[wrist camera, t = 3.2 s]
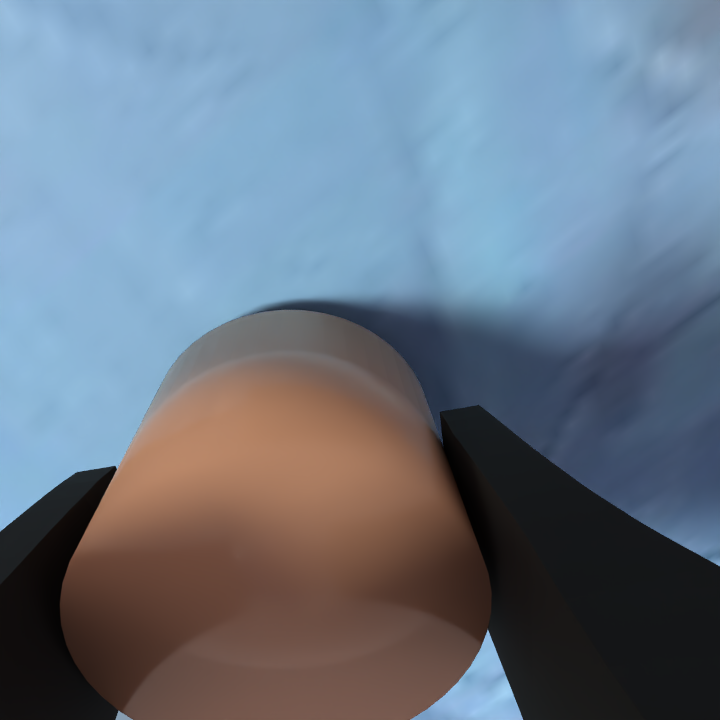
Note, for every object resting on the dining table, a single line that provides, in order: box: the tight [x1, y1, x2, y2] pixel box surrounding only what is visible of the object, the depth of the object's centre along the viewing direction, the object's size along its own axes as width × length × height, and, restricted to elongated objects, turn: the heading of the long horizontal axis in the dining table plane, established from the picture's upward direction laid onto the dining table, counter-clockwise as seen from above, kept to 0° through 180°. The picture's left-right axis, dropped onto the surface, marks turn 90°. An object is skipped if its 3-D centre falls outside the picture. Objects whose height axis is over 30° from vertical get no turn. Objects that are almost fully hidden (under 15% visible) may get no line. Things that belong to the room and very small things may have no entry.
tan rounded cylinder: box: [60, 310, 492, 720], centre depth 8 cm, size 5×5×4 cm
